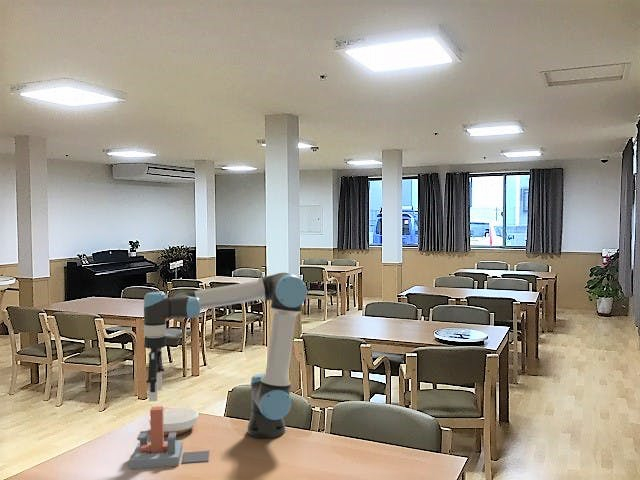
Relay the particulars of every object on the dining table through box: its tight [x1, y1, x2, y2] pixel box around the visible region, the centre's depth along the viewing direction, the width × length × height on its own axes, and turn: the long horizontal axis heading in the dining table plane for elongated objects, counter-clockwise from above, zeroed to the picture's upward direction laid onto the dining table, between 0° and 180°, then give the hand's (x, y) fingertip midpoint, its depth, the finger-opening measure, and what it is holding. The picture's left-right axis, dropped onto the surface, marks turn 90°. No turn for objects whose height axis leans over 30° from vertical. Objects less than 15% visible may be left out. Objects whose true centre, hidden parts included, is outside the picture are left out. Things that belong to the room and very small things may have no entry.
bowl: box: [148, 407, 199, 436], centre depth 232 cm, size 20×20×6 cm
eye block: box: [130, 430, 184, 470], centre depth 204 cm, size 16×16×8 cm
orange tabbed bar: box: [140, 405, 168, 454], centre depth 204 cm, size 12×4×18 cm, turn 99°
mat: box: [181, 450, 210, 465], centre depth 204 cm, size 9×9×1 cm
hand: (155, 395), depth 203 cm, fingers open, 13 cm apart
